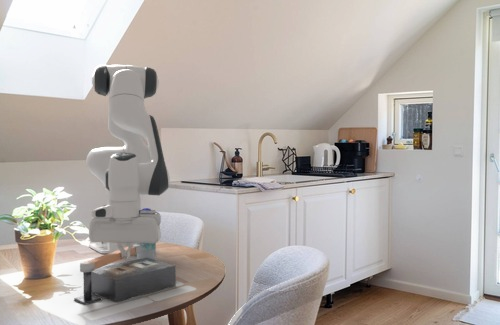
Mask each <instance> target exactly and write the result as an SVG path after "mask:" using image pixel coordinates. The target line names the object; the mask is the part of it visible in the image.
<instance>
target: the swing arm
mask: <svg viewBox="0 0 500 325" xmlns="http://www.w3.org/2000/svg"><path fill="white" fill-rule="evenodd" d="M128 247H129V246H127V247H125V248H124V249H125V251H127V249H128ZM139 253H141V245H135V244H134V245H133V247H132V249H131V250H130V256H133V255H137V254H139ZM123 259H124V258H122V257H121V251H120V250H117V251H114V252H112V253H105V254H103V255H100V256H98V257H96V258H93V259H90V260H87V261H82V262H80V263H79V271H80V273H83V272H92V271H94V270H95V269H97V268H100V267H105V266H109V264H113V263H114V262H118V261H120V260H123Z"/></svg>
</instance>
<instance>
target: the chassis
mask: <svg viewBox="0 0 500 325" xmlns="http://www.w3.org/2000/svg"><path fill="white" fill-rule="evenodd" d="M176 268H177V267H176V265H175V264H172V263H169V262H165V261H161V260H157V259H156V260H154V259H150V258H142V259H137V258H136V259H134V260H129V261H124V262H120V263H119V262H118V263H115V264H111V265H109V264H108V265H105V266H102V267H100V268H97V269H95V270H94V271H92V272H91V282H92V294H93V295H95V296H98V297H100V298H103V299H106V300H109V301H111V302H114V303H119V302H123V301H126V300H130V299H134V298H137V297H141V296H144V295H148V294H151V293H154V292H158V291H162V290H166V289H169V288H173V287H176V285H177V282H176V276H177V273H176Z"/></svg>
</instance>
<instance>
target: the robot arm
mask: <svg viewBox="0 0 500 325" xmlns="http://www.w3.org/2000/svg"><path fill="white" fill-rule="evenodd" d="M91 83H92V88H93V89H94V92H95V93H96V94H98V95H99V96H103V97H107V96H108V108H107V109H108V111H107V112H108V113H107V115H108V116H107V119H108V120H107V130H108V133H109V134H110V135H111V136H112V137H114V138H115V139H118V140H120V141H122V142H123V143H124V145H123V146H103V147H97V148H92V149H91V150H89V152H88V154H87V156H86V160H85V161H86V162H85V163H86V168H87V170H88V172H89V173H90V174H92V175H93V176H94V177H96V178H97V179H98V180H99V181H100V183H101V184H102V186H103V187H104V189H105V190H104V191H105V193H106V200H107V204H104V205H102V206H100V207H97V208H95V209H93V210H92V211H91V217H92V218H91V220H90V222H89V227H88V229H89V230H88V239H89V241H90V243H89V244H90V245H88V247H89V248H91V249H93V251H96V252H97V253H100V254H109V253H112V252H114V251H117V250H120V251H121V257H122V258H123V259H129V258H130V250H131V249H132V247H133V245H134V244H135V245H137V243H156V244H157V243H158V242H159V241H161V238H162V233H161V226H160V225H161V222H162V219H161V218H162V216H161V214H160V212H158V211H156V210H155V209H151V211H149V210H142V209H141V196H140V195H142V196H144V195H149V196H158V197H159V196H160V195H162V194H164V193H165V192H166V191H167V190H168V189H169V186H170V173H169V170H168V168H167V165H166V161H165V157H164V153H163V152H164V151H163V148H162V143H161V138H160V132H159V130H158V127H157V126H158V125H157V122H156V120H155V117H154V116H153V115H152V114H149V113H148V111H147V110H146V107H145V99H147V98H151V97H153V96H155V95H156V94H157V91H158V88H159V85H160V84H159V76H158V74H157V71H156V70H155V69H153V68H151V67H148V66H145V67H143V66H138V65H130V64H126V65H125V64H124V65H123V64H111V65H108V64H99V65H97V66H96V67H95V68H94V71H93V73H92V77H91ZM143 138H144V140H145V141H146V143H147V144H146V143H145V141H144V140H143ZM127 246H129V247H128V249H127V251H125V249H124V248H125V247H127Z"/></svg>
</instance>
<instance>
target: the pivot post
mask: <svg viewBox="0 0 500 325" xmlns="http://www.w3.org/2000/svg"><path fill="white" fill-rule="evenodd" d="M82 273H83V277H82V278H83V295H81V296H77V297H74V298H73V299H74V300H73V301H75V302H78V303H79V304H81V305H84V306H85V305H88V304H93V303H95V302H99V301H102V297H101V296H98V295H96V294H93V293H92V282H91V272H82Z"/></svg>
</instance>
